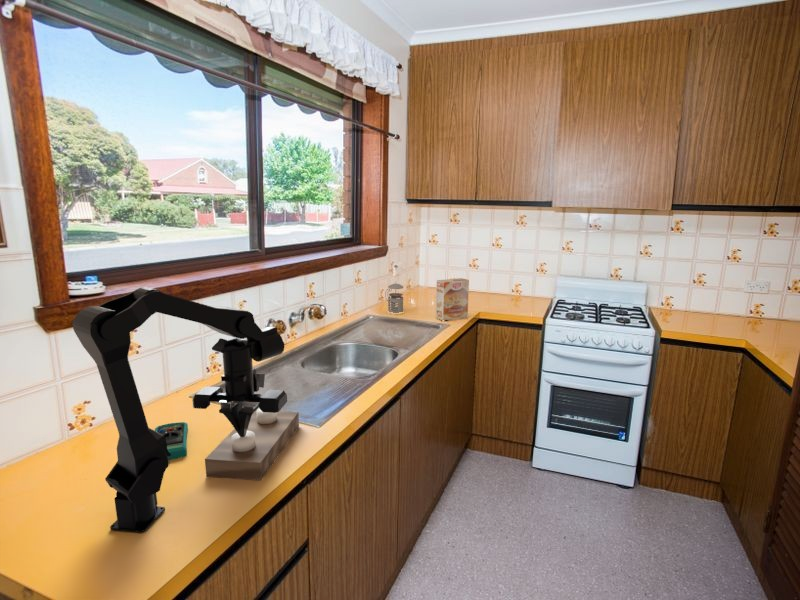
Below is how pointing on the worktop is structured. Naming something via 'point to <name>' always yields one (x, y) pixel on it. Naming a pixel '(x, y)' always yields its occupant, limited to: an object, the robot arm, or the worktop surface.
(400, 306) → the french press
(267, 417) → the far knob
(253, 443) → the near knob
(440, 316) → the coffeecake box
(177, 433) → the digital multimeter
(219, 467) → the brown wooden board
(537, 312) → the worktop surface
